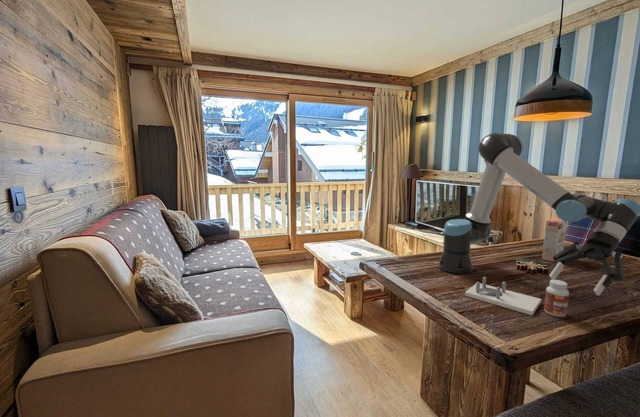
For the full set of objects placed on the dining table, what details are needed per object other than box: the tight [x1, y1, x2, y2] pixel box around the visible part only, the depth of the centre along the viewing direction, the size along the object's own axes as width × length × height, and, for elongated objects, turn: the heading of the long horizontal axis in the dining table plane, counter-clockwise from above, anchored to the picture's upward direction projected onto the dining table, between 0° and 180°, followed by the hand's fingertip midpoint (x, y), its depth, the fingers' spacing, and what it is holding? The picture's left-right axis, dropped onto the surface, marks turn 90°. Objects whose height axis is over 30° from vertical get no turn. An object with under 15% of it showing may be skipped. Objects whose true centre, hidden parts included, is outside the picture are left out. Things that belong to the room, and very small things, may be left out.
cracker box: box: [541, 217, 568, 263], centre depth 159 cm, size 14×6×21 cm, turn 128°
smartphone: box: [515, 257, 554, 269], centre depth 154 cm, size 8×1×15 cm
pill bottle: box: [543, 279, 570, 318], centre depth 104 cm, size 6×6×11 cm
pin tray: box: [464, 276, 542, 316], centre depth 115 cm, size 22×13×6 cm, turn 44°
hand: (572, 285), depth 103 cm, fingers open, 13 cm apart
